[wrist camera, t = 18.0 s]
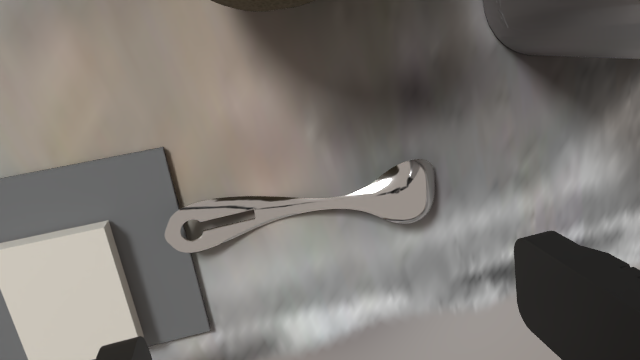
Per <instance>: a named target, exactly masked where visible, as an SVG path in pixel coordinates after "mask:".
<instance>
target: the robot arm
mask: <svg viewBox="0 0 640 360" xmlns="http://www.w3.org/2000/svg"><path fill="white" fill-rule="evenodd" d="M483 3H484V10H485V14H486V17H487V20H488V23H489V25H490V27H491V29H492V30H493V32H494V33H495V35H496V37H497V38H498V39H499V40H500V41H501V42H502V43H503V44H504V45H505V46H507V47H509V48H510V49H512V50H514V51H515V52H519V53H522V54H525V55H540V56H565V57H591V58H626V59H640V0H483ZM514 259H515V275H516V291H517V304H518V308H519V312H520V314H521V317H522V319H523V321H524V322H525V324H526V326H527V327H528V328H529V329H530V330H531V331H532V332H533V333H534V334H535V335H536V336H537V337H538V338H539V339H540V340H542V342H544V343H545V344H546V345H547V346H548V347H549V348H550V349H551V350H552V351H553V352H554V353H555V354H557V355H558V356H559V357H560V358H561V359H562V360H640V270H638V269H637V268H635V267H630V266H629V264H627V263H625V262H624V261H622V260H620V259H618V258H616V257H614V256H612V255H611V254H609V253H605V252H602V251H598V250H595V249H591V248H588V247H584V246H580V245H578V244H576V243H575V242H573V241H571V240H569V239H567V238H566V237H564V236H562V235H560V234H559V233H557V232H555V231H547V232H543V233H539V234H535V235H531V236H528V237H524V238H520V239H518V240H517V241H516V243H515V246H514ZM95 360H152V357H151V354H150V351H149V348H148V346H147V343H146V341H145V339H144V338H143V337H142V336H139V337H135V338H131V339H127V340H123V341H119V342H115V343H112V344H108V345H104V346H102V347H101V348H100V349H99V352H98V354H97V357H96V359H95Z"/></svg>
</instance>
